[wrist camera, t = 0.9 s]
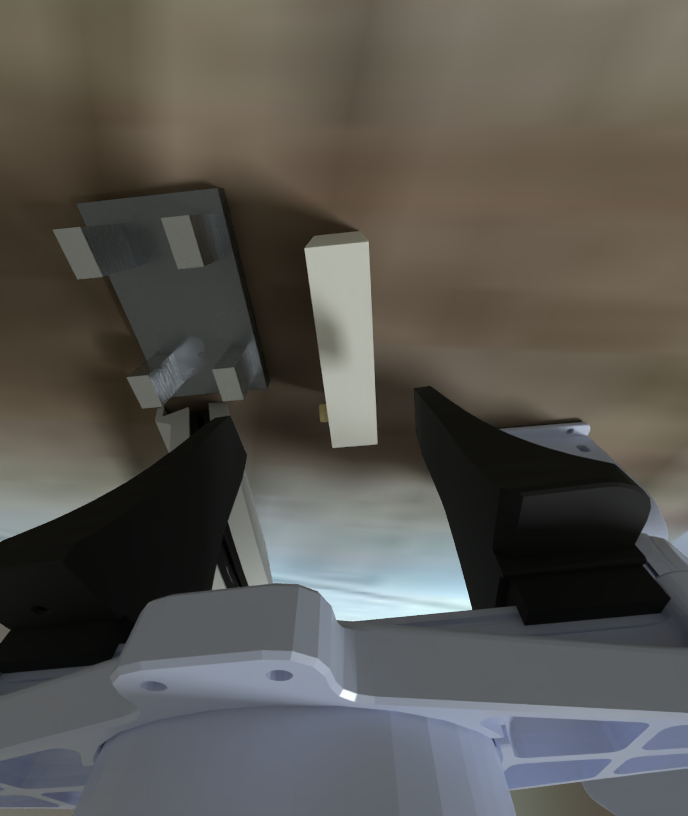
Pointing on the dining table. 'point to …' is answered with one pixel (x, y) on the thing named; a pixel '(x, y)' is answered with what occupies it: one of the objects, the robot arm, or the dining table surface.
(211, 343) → the clip bracket
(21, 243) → the dining table surface
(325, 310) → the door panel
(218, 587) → the grey curved block
